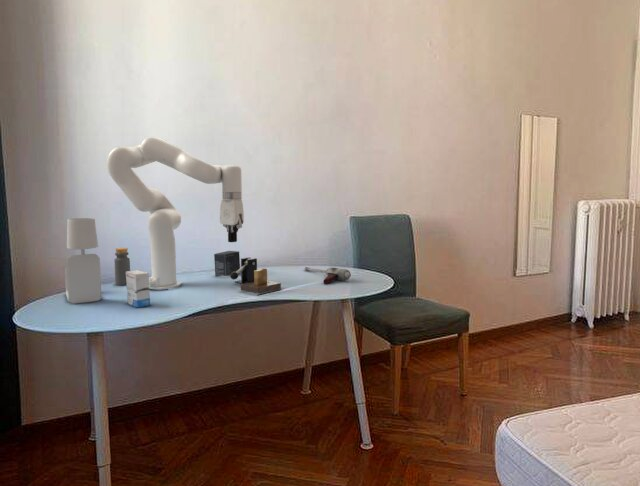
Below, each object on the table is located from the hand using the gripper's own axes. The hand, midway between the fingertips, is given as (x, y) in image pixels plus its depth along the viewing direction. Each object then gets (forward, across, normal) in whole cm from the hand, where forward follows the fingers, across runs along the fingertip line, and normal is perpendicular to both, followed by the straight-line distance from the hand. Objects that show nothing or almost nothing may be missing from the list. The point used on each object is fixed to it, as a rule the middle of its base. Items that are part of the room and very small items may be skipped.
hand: (232, 241), depth 213 cm
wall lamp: (+19, -27, -48) cm, 58 cm away
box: (+19, -22, +14) cm, 32 cm away
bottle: (+19, -40, -26) cm, 51 cm away
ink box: (+19, -3, -40) cm, 44 cm away
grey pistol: (+19, +13, +37) cm, 44 cm away
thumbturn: (+16, +14, +2) cm, 21 cm away
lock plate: (+19, +14, +2) cm, 24 cm away
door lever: (+13, 0, +5) cm, 14 cm away
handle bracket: (+19, 0, +8) cm, 20 cm away
